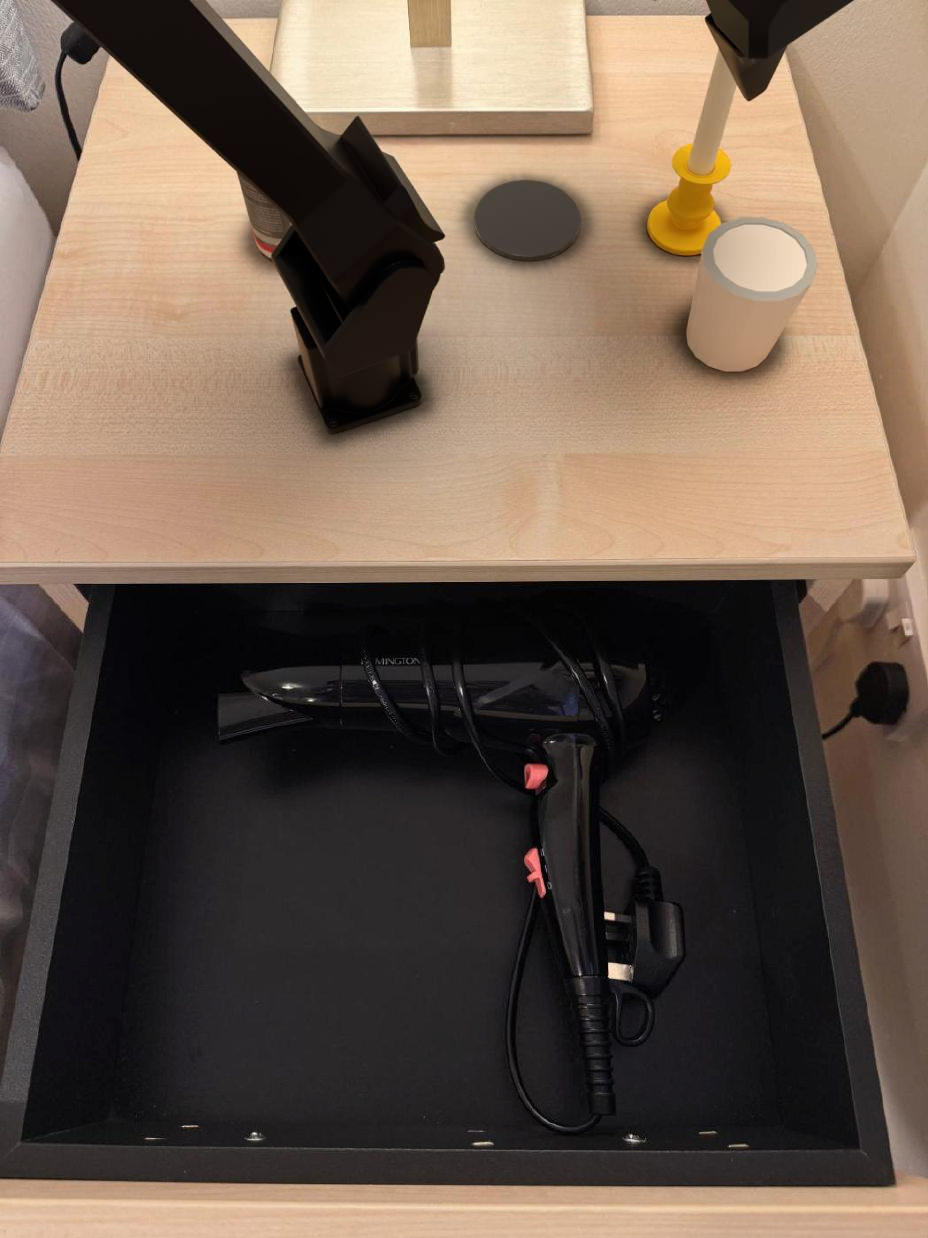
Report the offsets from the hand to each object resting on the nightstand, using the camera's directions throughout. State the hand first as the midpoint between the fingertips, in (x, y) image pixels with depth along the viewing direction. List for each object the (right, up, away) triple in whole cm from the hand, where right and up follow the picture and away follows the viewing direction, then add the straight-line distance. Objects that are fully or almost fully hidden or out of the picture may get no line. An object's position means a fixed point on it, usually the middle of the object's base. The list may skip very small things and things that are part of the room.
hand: (706, 42), depth 47 cm
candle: (+3, -3, +16) cm, 17 cm away
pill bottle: (-25, -4, +16) cm, 30 cm away
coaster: (-8, -2, +16) cm, 18 cm away
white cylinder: (+5, -12, +12) cm, 18 cm away
